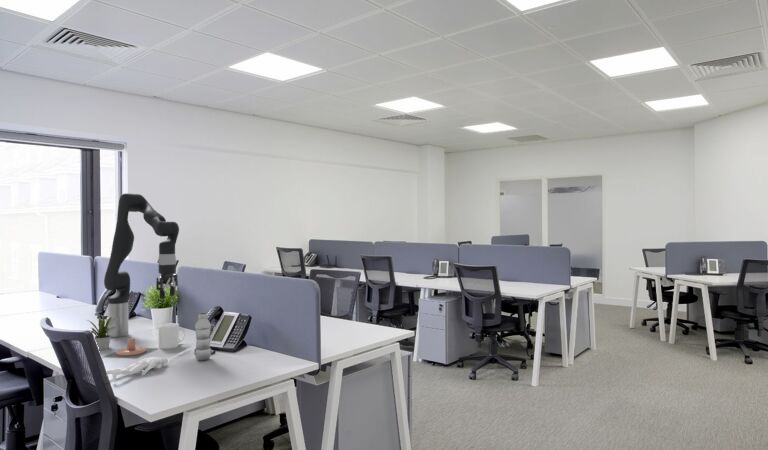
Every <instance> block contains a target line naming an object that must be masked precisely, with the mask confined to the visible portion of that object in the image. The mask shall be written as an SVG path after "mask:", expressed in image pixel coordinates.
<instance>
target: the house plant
mask: <svg viewBox="0 0 768 450" xmlns="http://www.w3.org/2000/svg"><path fill="white" fill-rule="evenodd" d="M101 317H102V318H101ZM112 317H113V316H112ZM112 317H110V318H109V320H108V321H107V322H106V320H105V317H104V316H103V315H101V316H100V315H99V317H98V327H97V326H96V324H94V323H93V322H92V321H90V320H88V319H86V321H87V322H89V323H90V324H91V325H92V326H93V327H94V328H93V327H91V330H90V331H91V332H90V333H92V334H94V337H95V340H96V342H97V345H98V347H99V350H98V351H102V350H107V349H109V347H110V343H111V338H112V337H111V335H106V333H107V334H108V332H107V331H110V330H109V329H111V328H109V329H108V328H107V327H108V325H109V324H110V323H111V322H112V320H111V318H112ZM116 318H118V317H116ZM114 319H115V318H114ZM114 319H113V320H114ZM109 322H110V323H109ZM114 322H115V321H114ZM112 323H113V322H112ZM112 323H111V324H112ZM109 327H110V326H109ZM116 327H117V326H116ZM112 328H113V327H112ZM114 328H115V327H114ZM114 328H113V329H114ZM116 329H117V328H116Z"/></svg>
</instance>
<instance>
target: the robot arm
mask: <svg viewBox="0 0 768 450" xmlns="http://www.w3.org/2000/svg"><path fill="white" fill-rule="evenodd" d="M130 212H132V213H138V212H139V213H142V214H143V215H142V216H143V217H142V218H143V219H144V221H145V223H146V224H148V225H149V226H150V227H152V229H153V231H154V233H155V234H156V235H157V236H159V237H167V238H166V240H164V241H161V242H160V243H159V244H158V274H160V276H157V277H156V286H155V290H157V291H159V299H160V300H164V299H165V298H166V288H168V286H169V296H171V297H174V296H175V295H176V288H177V287H178V285H179V283H178V273H176V272H177V266H176V265H177V263H176V262H177V259H176V257H177V256H176V243H177V240H178V236H179V234H180V233H179V232H180V227H179V224H178V223H177V222H176V221H167V220H166V218H165V217H164V216H163V215H162V214H160V213H159V212H158V211H157V210H155V209H154V208H153V206H152V205H151V204H150V203H149V202H148V200H147V199H146V198H145V197H144V196H143V194H139V193H131V192H129V193H127V192H124V193H122V194H121V195H120V196H119V199H118V206H117V215H116V217H117V218H116V225H115V229H114V230H115V231H114V234H113V235H114V236H113V239H112V240H113V241H112V246H111V252H110V257H109V261H108V264H107V268H106V271H105V274H104V279H103V284H104V288H105V289H106V290H107V291H115V290H116V291H115V293H114V294H113V295H110V296H109V297H108V298H107V304H108V306H107V311H108V312H107V314H108V315H107V317H106V320H105V323H106V322H107V321H108V320H109V318H110V317H112V316H113V317H112V318H111V320H112V322H113V323H112V322H111V323H112V324H111V323H110V322H109V323H110V324H109V325H108V327H107V328H108V329H109V328H111V329H109V330H110V331H107V332H108V334H107V333H106V335H111V338H119V337H121V338H122V337H126V336H128V335H129V298H130V294H131V277H130V274H129V272H127V271H125V270H124V271H121V270H120V268H121V266H122V264H123V262H124V261H125V260H126V258H128V256H129V255H130V254H131V252H132V250H133V247H134V242H135V241H134V240H135V236H134V235H135V233H134V232H133V230H132V227H131V226H130V223H129V213H130ZM116 317H118V318H116ZM114 318H115V319H114ZM113 319H114V320H113ZM114 321H115V322H114ZM109 326H110V327H109ZM116 326H117V327H116ZM112 327H113V328H114V327H115V328H114V329H113V328H112ZM116 328H117V329H116Z"/></svg>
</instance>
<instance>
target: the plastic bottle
mask: <svg viewBox="0 0 768 450" xmlns="http://www.w3.org/2000/svg"><path fill="white" fill-rule="evenodd" d="M208 316H209V315H208V312H200V313H198V316H197V317H198V319H197V321H196V323H195V325H194V330H195V338H196V341H195V342H196V345H195V346H196V347H195V352H194V353H195V354H194V356H195V359H196V360H197V361H206V360H209V359H210V358H211V357H212V349H211V343H210V336H211V329H212V328H211V326H212V325H211V322H210V320H209V319H208Z"/></svg>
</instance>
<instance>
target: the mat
mask: <svg viewBox="0 0 768 450" xmlns="http://www.w3.org/2000/svg"><path fill="white" fill-rule="evenodd" d="M157 350H159V347H158V348H155V347H153V348H152V347H150V348H149V347H146V352H145V353H143V354H140V355H135V356H117V355H116V351H115V352H112V353H111V352H110V353H109V354H106V355H104V356H103V358H110V359H111V358H115V359H117V358H118V359H132V360H133V359H139V358H141V357H142V356H146V355H147V354H150V353H152V352H154V351H157Z"/></svg>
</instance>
